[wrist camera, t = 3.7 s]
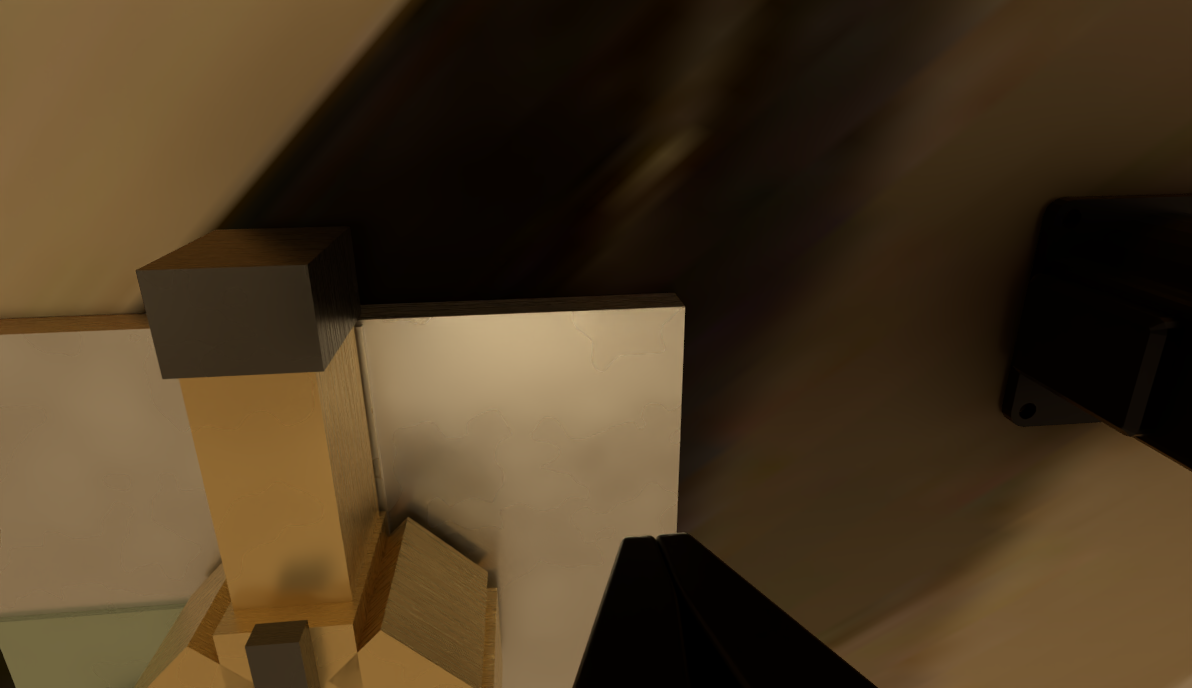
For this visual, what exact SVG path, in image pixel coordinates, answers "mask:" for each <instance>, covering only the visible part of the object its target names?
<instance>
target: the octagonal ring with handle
mask: <svg viewBox="0 0 1192 688" xmlns="http://www.w3.org/2000/svg"><path fill="white" fill-rule="evenodd" d="M136 274H137V278H138V282H139V286H140V290H141V294H142V298H143V302H144V307H145V311H146V315H147V319H148V323H149V327H150V331H151V335H152V339H153V343H154V347H155V351H156V355H157V359H158V363H159V368H160V372H161V376H162V379H179V382H180V386H181V391H182V395H183V399H184V403H185V408H186V412H187V416H188V420H189V424H190V429H191V433H192V437H193V441H194V445H195V450H196V454H197V458H198V462H199V467H200V471H201V475H202V479H203V483H204V488H205V492H206V496H207V500H208V505H209V509H210V513H211V517H212V521H213V526H214V530H215V534H216V538H217V543H218V547H219V551H220V555H221V559H222V563H221V564H220V565H219V566H218V568H217V569H216V570H215V571H214V572H213V573H212V574H211V575H210V576H209V577H208V578H207V579H206V580H205V581H204V582H203V583H202V585H201V586H200V587H199V588H198V589H197V590H196V591H195V592H194V593H193V594H192V595H191V597H190V599H189V600H188V602H187V603H186V605H185V607H184V608H183V610H182V611H181V613H180V615H179V616H178V618H177V619H176V621H175V623H174V624H173V626H172V627H171V629H170V631H169V632H168V634H167V635H166V637H165V639H164V640H163V642H162V643H161V645H160V647H159V648H158V650H157V651H156V653H155V655H154V656H153V658H152V659H151V661H150V663H149V664H148V666H147V667H146V669H145V671H144V672H143V674H142V675H141V677H140V679H139V680H138V682H137V683H136V685H135V687H134V688H502V672H503V662H502V648H501V634H500V620H499V606H498V592H497V587H496V588H487V581H488V572H487V571H486V570H484V569H483V568H481V567H480V566H478V565H477V564H476V563H474V562H473V561H471V560H470V559H468V558H467V557H466V556H464V555H463V554H461V553H460V552H458V551H457V550H455V549H454V548H453V547H451V546H450V545H448V544H447V543H445V542H444V541H442V540H441V539H440V538H438V537H437V536H435V535H434V534H432V533H431V532H430V531H428V530H427V529H425V528H424V527H422V526H421V525H419V524H418V523H417V522H415V521H414V520H412V519H411V518H409V517H407V518H406V519H405V520H404V521H403V522H402V523H401V524H400V525H399V526H398V527H397V528H396V529H395V530H394V531H393V532H392V533H391V534H390V535H389V528H388V521H387V513H386V511H379V506H378V499H377V492H376V485H375V477H374V470H373V463H372V456H371V448H370V441H369V434H368V426H367V419H366V412H365V405H364V397H363V390H362V383H361V375H360V368H359V361H358V354H357V346H356V339H355V332H354V325H355V323H356V322H357V320H358V318H359V317H360V315H361V314H362V312H361V305H360V297H359V290H358V282H357V275H356V267H355V260H354V252H353V244H352V237H351V229H350V226H335V227H300V228H265V229H230V230H214V231H212V232H210V233H208V234H206V235H204V236H202V237H200V238H198V239H196V240H194V241H192V242H191V243H189V244H187V245H185V246H183V247H181V248H179V249H177V250H175V251H173V252H171V253H169V254H167V255H165V256H163V257H161V258H159V259H157V260H155V261H153V262H151V263H149V264H147V265H145V266H143V267H142V268H140V269H138V270H136Z"/></svg>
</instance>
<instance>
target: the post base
mask: <svg viewBox="0 0 1192 688" xmlns="http://www.w3.org/2000/svg"><path fill="white" fill-rule="evenodd" d="M361 312H362V314H361V315H360V317H359V318H358V320H357V322H356V323H355V325H354V332H355V339H356V346H357V354H358V361H359V368H360V375H361V383H362V390H363V397H364V405H365V412H366V419H367V426H368V434H369V441H370V448H371V456H372V463H373V470H374V477H375V485H376V492H377V499H378V506H379V511H386V513H387V521H388V528H389V535H390V534H391V533H392V532H393V531H394V530H395V529H396V528H397V527H398V526H399V525H400V524H401V523H402V522H403V521H404V520H405V519H406V518H407V517H409V518H411V519H412V520H414V521H415V522H417V523H418V524H419V525H421V526H422V527H424V528H425V529H427V530H428V531H430V532H431V533H432V534H434V535H435V536H437V537H438V538H440V539H441V540H442V541H444V542H445V543H447V544H448V545H450V546H451V547H453V548H454V549H455V550H457V551H458V552H460V553H461V554H463V555H464V556H466V557H467V558H468V559H470V560H471V561H473V562H474V563H476V564H477V565H478V566H480V567H481V568H483V569H484V570H486V571H487V572H488V581H487V588H496V587H497V592H498V606H499V620H500V634H501V648H502V662H503V672H502V688H572V687H573V684H574V681H575V678H576V675H577V672H578V669H579V666H580V663H581V660H582V657H583V654H584V651H585V648H586V645H587V642H588V639H589V636H590V633H591V630H592V627H593V624H594V621H595V618H596V615H597V612H598V609H599V606H600V603H601V600H602V597H603V594H604V591H605V588H606V585H607V582H608V579H609V576H610V573H611V570H612V567H613V564H614V561H615V558H616V555H617V552H618V549H619V546H620V543H621V541H622V539H623V538H624V537H630V536H644V535H651V536H653V537H654V538H655V539H656V537H657V536H658V535H660V534H671V533H676V531H677V505H678V479H679V453H680V427H681V401H682V375H683V348H684V322H685V306H684V305H683V303H682V302H681V300H680V299H679V298H678V296H677V295H676V294H675V293H657V294H631V295H605V296H580V297H554V298H529V299H503V300H477V301H452V302H426V303H400V304H375V305H361ZM221 563H222V559H221V555H220V551H219V547H218V543H217V538H216V534H215V530H214V526H213V521H212V517H211V513H210V509H209V505H208V500H207V496H206V492H205V488H204V483H203V479H202V475H201V471H200V467H199V462H198V458H197V454H196V450H195V445H194V441H193V437H192V433H191V429H190V424H189V420H188V416H187V412H186V408H185V403H184V399H183V395H182V391H181V386H180V382H179V379H162V376H161V372H160V368H159V363H158V359H157V355H156V351H155V347H154V343H153V339H152V335H151V331H150V327H149V323H148V319H147V315H146V313H144V314H119V315H93V316H67V317H42V318H16V319H0V648H1V651H2V653H3V656H4V658H5V661H6V663H7V666H8V668H9V671H10V674H11V676H12V679H13V681H14V684H15V686H16V688H134V687H135V685H136V683H137V682H138V680H139V679H140V677H141V675H142V674H143V672H144V671H145V669H146V667H147V666H148V664H149V663H150V661H151V659H152V658H153V656H154V655H155V653H156V651H157V650H158V648H159V647H160V645H161V643H162V642H163V640H164V639H165V637H166V635H167V634H168V632H169V631H170V629H171V627H172V626H173V624H174V623H175V621H176V619H177V618H178V616H179V615H180V613H181V611H182V610H183V608H184V607H185V605H186V603H187V602H188V600H189V599H190V597H191V595H192V594H193V593H194V592H195V591H196V590H197V589H198V588H199V587H200V586H201V585H202V583H203V582H204V581H205V580H206V579H207V578H208V577H209V576H210V575H211V574H212V573H213V572H214V571H215V570H216V569H217V568H218V566H219V565H220V564H221Z"/></svg>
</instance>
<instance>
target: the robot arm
mask: <svg viewBox="0 0 1192 688" xmlns="http://www.w3.org/2000/svg"><path fill="white" fill-rule="evenodd" d="M1069 210H1070V217H1069V219H1068V221H1067V222H1066V223H1065V224H1064V225H1063V218H1064V216H1065V214H1066V213H1067V212H1068V211H1069ZM1025 404H1027V405H1026V407H1025V409H1024V410H1022V411H1021V412H1019V411H1020V409H1021V407H1022V406H1023V405H1025ZM1002 412H1003V414H1004V416H1005V417H1006V418H1007V419H1009V420H1010V421H1012V422H1013V423H1015V424H1016V425H1018V426H1023V427H1026V426H1043V425H1059V424H1076V423H1092V422H1103V423H1105V424H1107V425H1108V426H1110V427H1112V428H1114V429H1115V430H1117V431H1119V432H1120V433H1122V434H1124V435H1126V436H1130V437H1133V438H1135V439H1137V440H1138V441H1140V442H1142V443H1144V444H1145V445H1147V446H1149V447H1150V448H1152V449H1154V450H1156V451H1157V452H1159V453H1161V454H1162V455H1164V456H1166V457H1168V458H1169V459H1171V460H1173V461H1174V462H1176V463H1178V464H1180V465H1181V466H1183V467H1185V468H1186V469H1188V470H1190V471H1192V194H1161V195H1124V196H1087V197H1063V198H1059V199H1057V200H1055V201H1054V202H1052V203H1051V204H1050V205H1049V207H1048V208H1047V209H1046V211H1045V214H1044V216H1043V220H1042V225H1041V229H1040V234H1039V239H1038V243H1037V248H1036V252H1035V257H1034V262H1033V266H1032V271H1031V276H1030V280H1029V285H1028V289H1027V294H1026V299H1025V303H1024V308H1023V313H1022V317H1021V322H1020V326H1019V331H1018V336H1017V340H1016V345H1015V350H1014V354H1013V359H1012V363H1011V368H1010V373H1009V377H1008V382H1007V387H1006V391H1005V396H1004V400H1003V405H1002ZM572 688H878V687H876V686H875V685H874V684H873V683H872V682H870V681H869V680H868V679H867V678H865V677H864V676H863V675H862V674H860V673H859V672H858V671H857V670H856V669H854V668H853V667H852V666H851V665H849V664H848V663H847V662H846V661H845V660H843V659H842V658H841V657H840V656H838V655H837V654H836V653H835V652H833V651H832V650H831V649H830V648H829V647H827V646H826V645H825V644H824V643H822V642H821V641H820V640H819V639H818V638H816V637H815V636H814V635H813V634H811V633H810V632H809V631H808V630H806V629H805V628H804V627H803V626H802V625H800V624H799V623H798V622H797V621H795V620H794V619H793V618H792V617H791V616H789V615H788V614H787V613H786V612H784V611H783V610H782V609H781V608H780V607H778V606H777V605H776V604H775V603H773V602H772V601H771V600H770V599H768V598H767V597H766V596H765V595H764V594H762V593H761V592H760V591H759V590H757V589H756V588H755V587H754V586H753V585H751V584H750V583H749V582H748V581H746V580H745V579H744V578H743V577H741V576H740V575H739V574H738V573H737V572H735V571H734V570H733V569H732V568H730V567H729V566H728V565H727V564H726V563H724V562H723V561H722V560H721V559H719V558H718V557H717V556H716V555H714V554H713V553H712V552H711V551H710V550H708V549H707V548H706V547H705V546H703V545H702V544H701V543H700V542H699V541H697V540H696V539H695V538H694V537H692V536H691V535H690V534H688V533H671V534H660V535H658V536H657V537H656V539H655V538H654V537H653V536H651V535H644V536H630V537H624V538H623V539H622V541H621V543H620V546H619V549H618V552H617V555H616V558H615V561H614V564H613V567H612V570H611V573H610V576H609V579H608V582H607V585H606V588H605V591H604V594H603V597H602V600H601V603H600V606H599V609H598V612H597V615H596V618H595V621H594V624H593V627H592V630H591V633H590V636H589V639H588V642H587V645H586V648H585V651H584V654H583V657H582V660H581V663H580V666H579V669H578V672H577V675H576V678H575V681H574V684H573V687H572Z"/></svg>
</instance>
